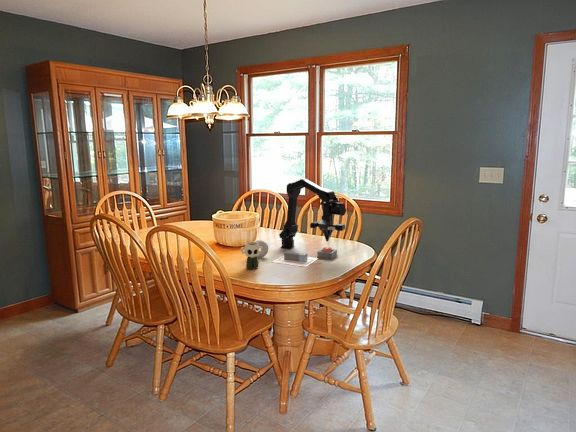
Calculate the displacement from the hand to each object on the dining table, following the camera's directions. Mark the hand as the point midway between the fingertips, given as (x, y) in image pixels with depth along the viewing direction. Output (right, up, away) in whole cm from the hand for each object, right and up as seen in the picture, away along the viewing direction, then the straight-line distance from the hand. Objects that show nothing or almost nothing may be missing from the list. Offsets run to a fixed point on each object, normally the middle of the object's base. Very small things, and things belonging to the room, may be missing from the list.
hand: (327, 241), depth 235 cm
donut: (-38, -9, 0) cm, 39 cm away
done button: (0, -7, +1) cm, 7 cm away
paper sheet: (-18, -10, -5) cm, 21 cm away
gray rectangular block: (-18, -10, -5) cm, 21 cm away
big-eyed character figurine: (-40, -13, -19) cm, 46 cm away
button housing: (0, -9, +2) cm, 9 cm away
